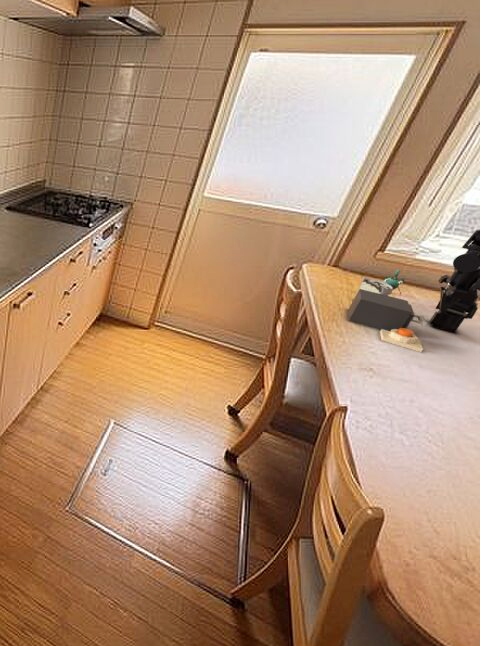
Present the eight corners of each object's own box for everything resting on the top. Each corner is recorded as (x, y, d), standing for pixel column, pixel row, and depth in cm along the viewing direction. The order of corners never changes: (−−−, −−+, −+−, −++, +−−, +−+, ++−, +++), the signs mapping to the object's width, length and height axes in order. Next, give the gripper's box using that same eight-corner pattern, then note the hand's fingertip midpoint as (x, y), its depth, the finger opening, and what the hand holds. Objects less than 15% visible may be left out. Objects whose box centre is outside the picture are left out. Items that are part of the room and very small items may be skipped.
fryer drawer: (415, 326, 151) (426, 308, 148) (419, 338, 143) (431, 319, 140) (356, 310, 160) (366, 293, 157) (357, 320, 152) (367, 302, 149)
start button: (410, 335, 141) (413, 330, 140) (411, 339, 139) (414, 334, 138) (396, 331, 143) (399, 326, 142) (397, 335, 141) (400, 330, 140)
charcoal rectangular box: (394, 322, 155) (407, 300, 151) (397, 335, 146) (411, 312, 142) (347, 309, 162) (359, 288, 158) (348, 321, 153) (360, 299, 149)
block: (418, 342, 142) (423, 335, 141) (421, 352, 136) (426, 344, 135) (379, 331, 148) (384, 324, 146) (381, 340, 142) (386, 332, 140)
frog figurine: (390, 296, 178) (411, 265, 170) (397, 315, 165) (420, 283, 157) (362, 289, 182) (381, 259, 174) (366, 308, 170) (387, 276, 162)
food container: (388, 315, 160) (402, 291, 156) (370, 312, 161) (384, 289, 157) (367, 301, 171) (380, 279, 167) (351, 299, 172) (363, 276, 168)
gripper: (517, 283, 123) (483, 329, 130) (499, 268, 136) (469, 310, 143) (463, 272, 129) (434, 316, 136) (452, 258, 142) (425, 299, 149)
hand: (442, 310), depth 141 cm, fingers closed
